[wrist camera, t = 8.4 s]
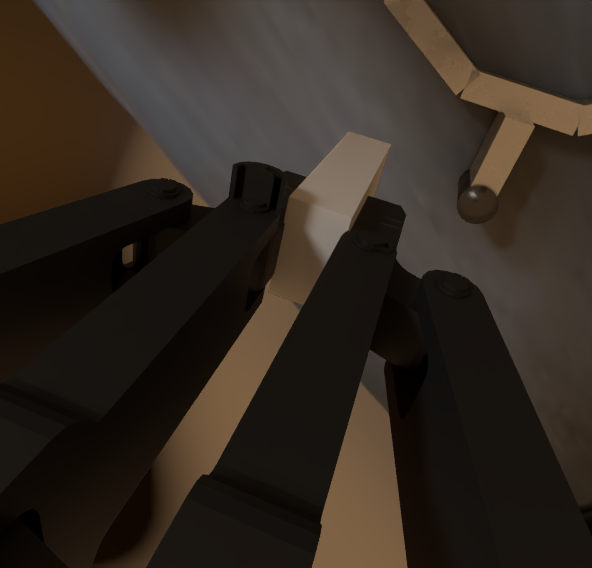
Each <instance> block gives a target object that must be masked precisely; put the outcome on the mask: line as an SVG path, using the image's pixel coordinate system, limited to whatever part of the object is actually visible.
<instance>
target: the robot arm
mask: <svg viewBox="0 0 592 568" xmlns="http://www.w3.org/2000/svg"><path fill="white" fill-rule="evenodd" d="M390 146H391V144H389V143H386V142H383V141H379V140H376V139H373V138H369V137H366V136H363V135H360V134H356V133H353V132H350V131H349V132H348V133H347V134H346V135H345V136H344V137H343V138H342V139H341V140H340V142H339V143H338V144H337V145H336V146H335V147H334V148H333V149H332V150H331V151H330V152H329V154H328V155H327V156H326V157H325V158H324V159H323V160H322V161H321V162H320V163H319V165H318V166H317V167H316V168H315V169H314V170H313V171H312V172H311V173H310V174H309V175H308V177H304V176H301V175H298V174H295V173H292V172H289V171H285V172H282V171H281V170H280V169H278V168H275V167H273V166H270V165H267V164H263V163H258V162H239V163H236V164H234V165H233V169H232V176H231V183H230V191H229V197H228V198H227V199H226V200H225V201H224V202H222V203H221V204H220V205H219V206H218V207H216V208H210V207H204V206H198V205H192V198H193V193H192V191H191V189H190V188H188V187H187V186H185V185H184V184H181V183H178V182H176V181H175V180H171V179H170V180H168V179H165V178H161V179H150V180H144V181H141V182H137V183H134V184H131V185H127V186H124V187H121V188H118V189H114V190H111V191H108V192H104V193H101V194H98V195H95V196H91V197H88V198H85V199H82V200H78V201H75V202H72V203H69V204H65V205H62V206H59V207H55V208H52V209H49V210H46V211H42V212H39V213H36V214H33V215H30V216H26V217H23V218H20V219H16V220H13V221H10V222H7V223H3V224H0V568H91V566H92V563H93V561H94V558H95V555H96V552H97V549H98V546H99V545H100V543H101V540H102V538H103V537H104V535H105V533H106V532H107V530H108V528H109V527H110V525H111V524H112V522H113V521H114V520H115V518H116V516H117V515H118V514H119V512H120V511H121V509H122V508H123V506H124V505H125V503H126V502H127V500H128V499H129V497H130V496H131V494H132V493H133V491H134V490H135V488H136V487H137V486H138V484H139V483H140V481H141V480H142V478H143V477H144V475H145V474H146V472H147V471H148V469H149V468H150V466H151V465H152V463H153V462H154V460H155V459H156V458H157V456H158V454H159V453H160V452H161V450H162V449H163V447H164V446H165V444H166V443H167V441H168V440H169V438H170V437H171V435H172V434H173V432H174V431H175V430H176V428H177V427H178V425H179V423H180V422H181V421H182V419H183V417H184V416H185V415H186V413H187V411H188V410H189V409H190V407H191V406H192V404H193V403H194V401H195V400H196V398H197V397H198V396H199V394H200V393H201V391H202V390H203V388H204V387H205V385H206V384H207V382H208V381H209V379H210V378H211V376H212V375H213V373H214V372H215V370H216V369H217V368H218V366H219V365H220V363H221V362H222V360H223V359H224V357H225V356H226V354H227V353H228V351H229V350H230V348H231V347H232V345H233V344H234V342H235V341H236V339H237V338H238V337H239V335H240V333H241V332H242V331H243V329H244V328H245V326H246V325H247V323H248V322H249V320H250V319H251V317H252V316H253V314H254V313H255V311H256V310H257V308H258V307H259V305H260V304H261V303H262V299H263V295H264V290H265V286H266V284H267V283H268V281H269V280H270V279H271V283H270V288H269V293H271V294H273V295H276V296H279V297H282V298H285V299H288V300H290V301H293V302H295V303H298V304H301V305H303V307H302V309H301V310H300V312H299V314H298V316H297V318H296V320H295V321H294V323H293V325H292V327H291V329H290V331H289V332H288V334H287V336H286V338H285V340H284V342H283V344H282V345H281V347H280V349H279V351H278V353H277V355H276V356H275V358H274V360H273V362H272V364H271V365H270V368H269V369H268V371H267V373H266V375H265V376H264V378H263V380H262V382H261V384H260V386H259V388H258V389H257V391H256V393H255V395H254V397H253V398H252V400H251V402H250V404H249V406H248V408H247V410H246V411H245V413H244V415H243V417H242V419H241V420H240V422H239V424H238V426H237V428H236V430H235V432H234V433H233V435H232V437H231V439H230V441H229V442H228V444H227V446H226V448H225V450H224V451H223V453H222V455H221V457H220V459H219V461H218V463H217V464H216V466H215V467H214V469H213V471H212V472H211V473H210V474H209V475H204V474H203V475H202V476H201V477H200V478H199V479H198V480H197V481H196V483H195V484H194V486H193V488H192V489H191V491H190V492H189V494H188V495H187V497H186V498H185V500H184V502H183V504H182V506H181V508H180V509H179V511H178V513H177V514H176V516H175V518H174V520H173V521H172V523H171V525H170V527H169V528H168V530H167V532H166V534H165V535H164V537H163V539H162V541H161V542H160V544H159V546H158V548H157V549H156V551H155V553H154V555H153V556H152V558H151V560H150V562H149V563H148V565H147V567H146V568H312V564H313V561H314V557H315V553H316V550H317V545H318V542H319V538H320V533H321V528H322V525H321V524H320V521H321V516H322V512H323V509H324V505H325V502H326V499H327V495H328V492H329V488H330V485H331V481H332V477H333V474H334V471H335V467H336V464H337V460H338V456H339V453H340V450H341V446H342V443H343V439H344V436H345V432H346V429H347V425H348V422H349V418H350V415H351V411H352V408H353V404H354V401H355V397H356V394H357V390H358V387H359V384H360V380H361V377H362V373H363V370H364V366H365V363H366V359H367V356H368V352H369V349H370V350H371V351H373V352H375V353H376V354H378V355H379V356H381V357H382V358H384V359H386V362H385V367H384V375H385V383H386V391H387V400H388V408H389V416H390V425H391V433H392V441H393V450H394V458H395V467H396V475H397V483H398V491H399V500H400V507H401V516H402V524H403V533H404V541H405V550H406V559H407V567H408V568H592V536H591V533H590V531H589V529H588V527H587V524H586V522H585V520H584V518H583V516H582V513H581V511H580V509H579V507H578V504H577V502H576V500H575V498H574V496H573V493H572V491H571V489H570V487H569V484H568V482H567V480H566V478H565V476H564V473H563V471H562V469H561V467H560V464H559V462H558V460H557V458H556V456H555V453H554V451H553V449H552V447H551V444H550V442H549V440H548V438H547V436H546V433H545V431H544V429H543V427H542V425H541V422H540V420H539V418H538V416H537V413H536V411H535V409H534V407H533V405H532V402H531V400H530V398H529V396H528V393H527V391H526V389H525V387H524V385H523V382H522V380H521V378H520V376H519V373H518V371H517V369H516V367H515V365H514V362H513V360H512V358H511V356H510V353H509V351H508V349H507V347H506V345H505V342H504V340H503V338H502V336H501V333H500V331H499V329H498V327H497V325H496V322H495V320H494V318H493V316H492V314H491V311H490V309H489V307H488V305H487V302H486V300H485V298H484V296H483V294H482V292H481V291H480V290H479V288H478V287H477V286H476V285H474V284H473V283H472V282H470V281H469V279H467V278H465V277H464V276H463V277H462V275H459V274H457V273H451V272H448V271H441V270H433V271H428V272H427V273H425V274H424V275H423V277H422V279H420V278H418V277H416V276H414V275H412V274H411V273H409V272H408V271H406V270H405V269H404V268H403V267H402V266H401V265H400V264H399V263H398V262H397V260H396V255H397V251H396V248H397V245H398V241H399V238H400V234H401V231H402V227H403V224H404V221H405V217H406V214H405V212H404V210H403V209H402V207H401V206H399V205H396V204H393V203H390V202H387V201H384V200H380V199H377V198H374V195H375V192H376V189H377V186H378V183H379V180H380V177H381V174H382V171H383V168H384V165H385V162H386V159H387V155H388V152H389V149H390ZM130 244H133V261H131V262H129V263H127V264H123V262H122V249H123V248H124V247H126V246H128V245H130ZM271 277H272V278H271Z"/></svg>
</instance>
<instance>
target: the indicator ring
mask: <svg viewBox="0 0 592 568" xmlns="http://www.w3.org/2000/svg"><path fill="white" fill-rule="evenodd" d="M383 3H384V4H385V5H386V7H387V8H388V9H389V11H390V12H391V13H392V14H393V16H394V17H395V18H396V20H397V21H398V22H399V23H400V25H401V26H402V27H403V28H404V30H405V31H406V32H407V34H408V35H409V36H410V37H411V39H412V40H413V41H414V42H415V44H416V45H417V46H418V48H419V49H420V50H421V51H422V53H423V54H424V55H425V56H426V58H427V59H428V60H429V62H430V63H431V64H432V65H433V67H434V68H435V69H436V71H437V72H438V73H439V74H440V76H441V77H442V78H443V79H444V81H445V82H446V83H447V85H448V86H449V87H450V88H451V90H452V91H453V92H454V93H455V95H457V94H458V93H459V92H461V94H460V98H461V99H464V100H467V101H470V102H473V103H476V104H479V105H482V106H485V107H488V108H491V109H494V110H497V111H498V113H497V115H496V117H495V119H494V121H493V123H492V125H491V127H490V129H489V131H488V133H487V135H486V137H485V139H484V141H483V143H482V145H481V148H480V150H479V152H478V154H477V156H476V158H475V160H474V162H473V164H472V166H471V168H470V169H469V170H467V171H466V172H465V173H463V175H462V176H461V177H460V180H459V183H458V202H457V209H458V213H459V215H460V216H461V218H462V219H464V220H465V221H467V222H469V223H473V224H480V223H484V222H487V221H488V220H490V219H491V218H492V217H493V216H494V215H495V214H496V212H497V209H498V199H497V196H498V194H499V192H500V190H501V188H502V187H503V185H504V183H505V181H506V179H507V177H508V176H509V174H510V172H511V170H512V168H513V166H514V164H515V163H516V161H517V159H518V157H519V155H520V153H521V152H522V150H523V148H524V146H525V144H526V142H527V140H528V139H529V137H530V135H531V133H532V131H533V129H534V127H535V126H534V124H533V123H536V124H539V125H542V126H544V127H547V128H550V129H553V130H556V131H559V132H562V133H565V134H568V135H571V136H573V134H574V132H575V133H576V134H577V135H578V136H582V135H588V134H592V98H589V99H584V100H579V101H578V100H575V99H572V98H569V97H566V96H563V95H560V94H557V93H554V92H550V91H547V90H544V89H541V88H538V87H535V86H532V85H529V84H526V83H523V82H520V81H517V80H514V79H511V78H507V77H504V76H501V75H498V74H495V73H492V72H489V71H486V70H483V69H480V68H477V67H476V66H475V64H474V63H473V62H472V60H471V59H470V58H469V56H468V55H467V54H466V53H465V51H464V50H463V49H462V47H461V46H460V45H459V43H458V42H457V41H456V39H455V38H454V37H453V35H452V34H451V33H450V32H449V30H448V29H447V28H446V26H445V25H444V24H443V22H442V21H441V20H440V18H439V17H438V16H437V15H436V13H435V12H434V11H433V9H432V8H431V7H430V5H429V4H428V3H427V1H426V0H385V1H384V2H383Z"/></svg>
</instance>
